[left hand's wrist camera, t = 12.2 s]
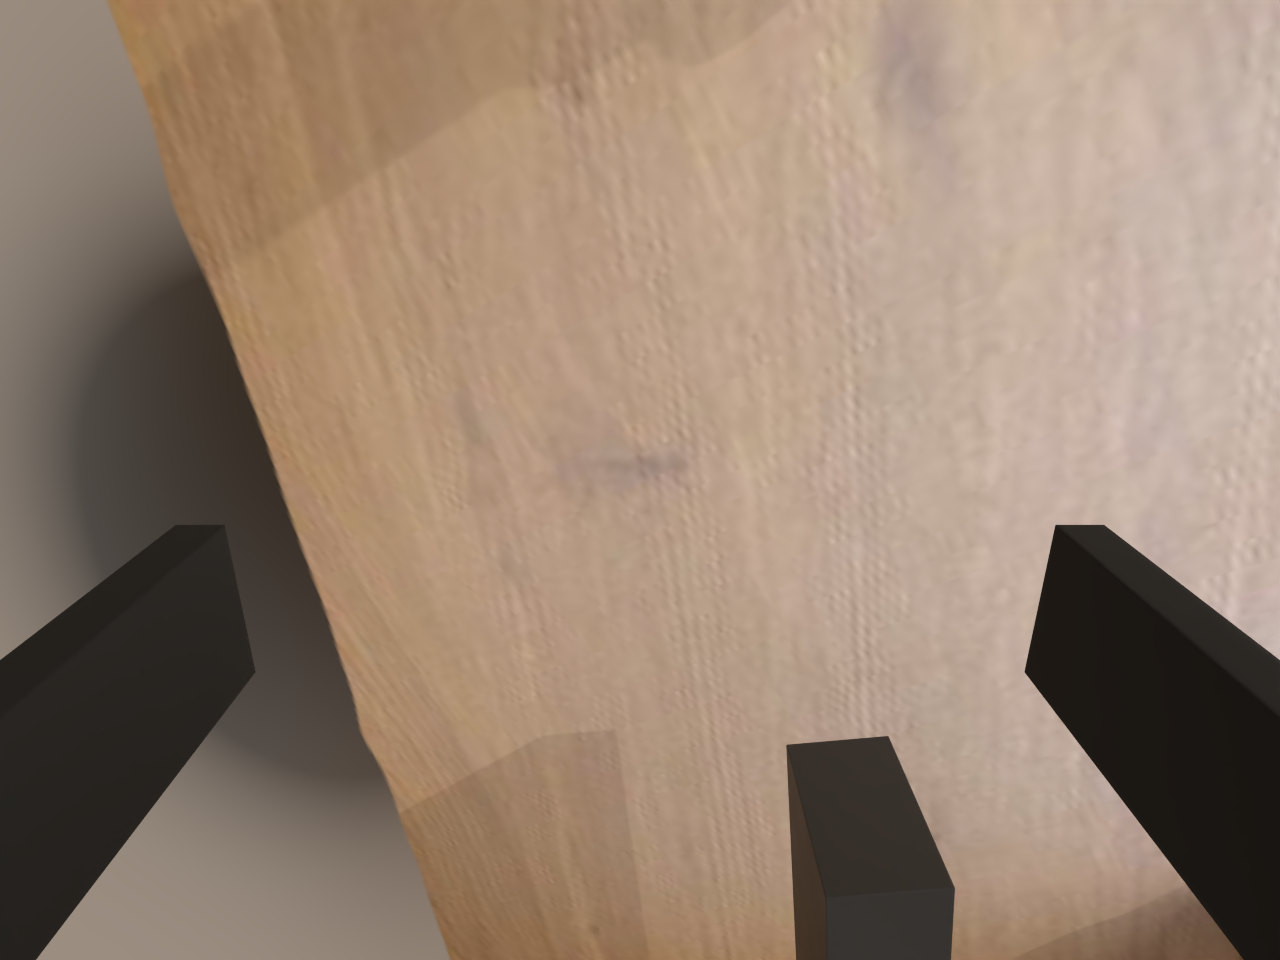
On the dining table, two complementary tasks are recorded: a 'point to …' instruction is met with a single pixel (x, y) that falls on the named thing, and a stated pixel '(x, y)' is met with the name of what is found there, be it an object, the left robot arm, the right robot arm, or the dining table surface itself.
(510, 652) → the dining table surface
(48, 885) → the left robot arm
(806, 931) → the bar
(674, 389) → the dining table surface
